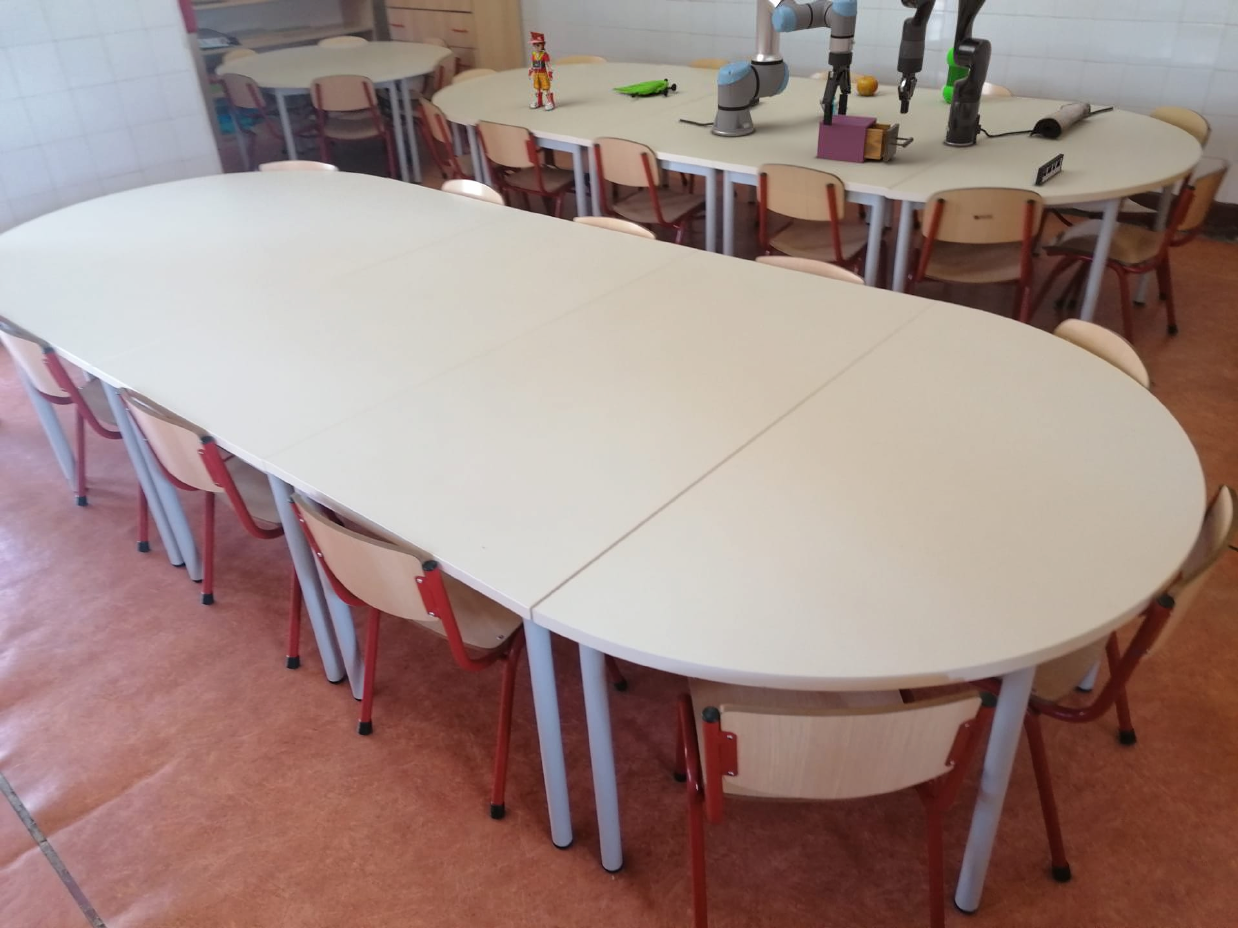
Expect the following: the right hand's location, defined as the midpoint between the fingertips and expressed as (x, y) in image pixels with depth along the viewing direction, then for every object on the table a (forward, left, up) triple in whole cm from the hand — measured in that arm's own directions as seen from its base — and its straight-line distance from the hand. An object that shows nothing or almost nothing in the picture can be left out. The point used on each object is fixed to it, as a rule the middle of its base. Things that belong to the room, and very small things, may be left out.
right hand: (903, 113), depth 287 cm
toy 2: (+60, -133, -15) cm, 147 cm away
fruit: (-27, -89, -15) cm, 94 cm away
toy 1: (+105, -122, -15) cm, 162 cm away
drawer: (+5, -5, -14) cm, 16 cm away
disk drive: (+26, -92, -15) cm, 97 cm away
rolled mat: (-68, -16, -15) cm, 72 cm away
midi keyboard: (-34, +31, -15) cm, 49 cm away
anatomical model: (-1, -59, -15) cm, 61 cm away
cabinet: (+14, -12, -15) cm, 24 cm away
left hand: (+17, -15, -4) cm, 23 cm away
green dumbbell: (-53, -65, -15) cm, 85 cm away
